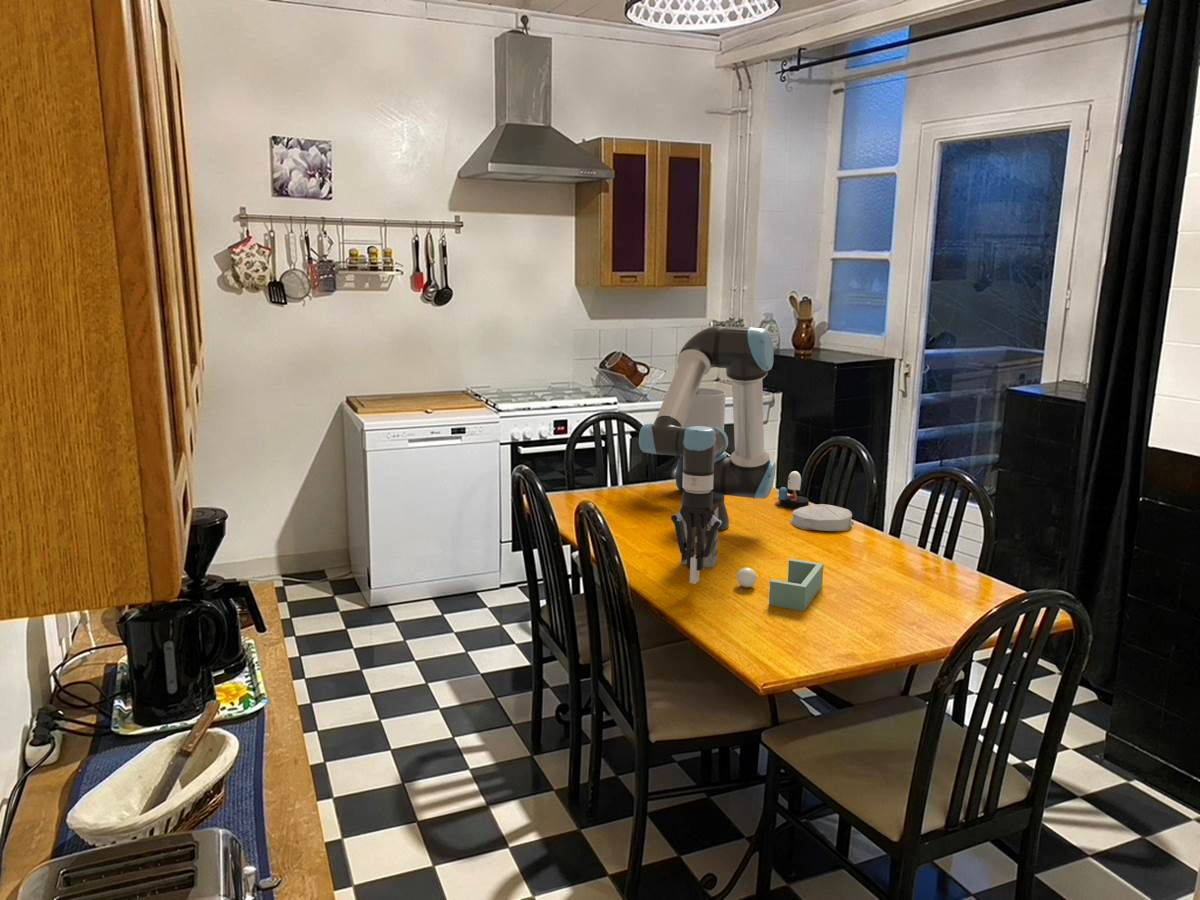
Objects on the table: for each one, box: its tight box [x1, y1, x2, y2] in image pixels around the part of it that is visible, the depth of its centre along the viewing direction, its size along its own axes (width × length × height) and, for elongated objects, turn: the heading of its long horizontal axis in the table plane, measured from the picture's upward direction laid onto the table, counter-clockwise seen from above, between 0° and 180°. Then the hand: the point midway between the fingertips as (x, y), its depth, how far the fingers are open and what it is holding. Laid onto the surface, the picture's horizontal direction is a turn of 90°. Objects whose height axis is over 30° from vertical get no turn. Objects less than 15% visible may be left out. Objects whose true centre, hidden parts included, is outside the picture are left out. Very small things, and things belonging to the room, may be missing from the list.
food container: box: [789, 503, 855, 532], centre depth 284 cm, size 20×20×7 cm
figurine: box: [774, 470, 810, 510], centre depth 305 cm, size 10×11×12 cm
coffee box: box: [680, 505, 719, 569], centre depth 244 cm, size 9×6×16 cm
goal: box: [768, 558, 824, 612], centre depth 222 cm, size 8×19×6 cm, turn 154°
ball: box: [736, 567, 758, 588], centre depth 227 cm, size 5×5×5 cm
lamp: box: [666, 387, 726, 492], centre depth 319 cm, size 20×20×37 cm
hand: (694, 581), depth 225 cm, fingers closed
